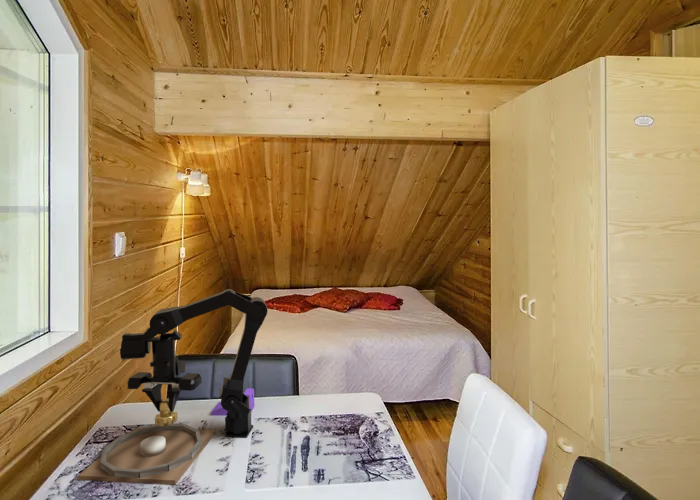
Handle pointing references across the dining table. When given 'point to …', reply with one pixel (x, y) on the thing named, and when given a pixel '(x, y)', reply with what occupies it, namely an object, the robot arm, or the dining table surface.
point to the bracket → (222, 412)
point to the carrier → (149, 455)
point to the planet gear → (165, 414)
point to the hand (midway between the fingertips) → (166, 411)
